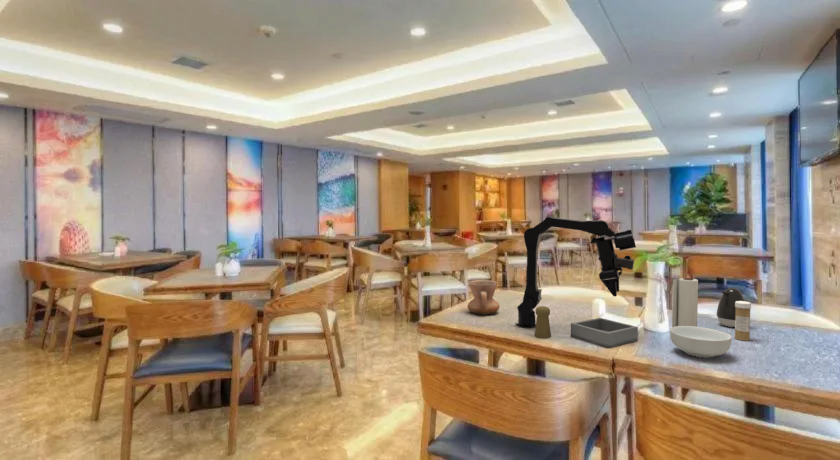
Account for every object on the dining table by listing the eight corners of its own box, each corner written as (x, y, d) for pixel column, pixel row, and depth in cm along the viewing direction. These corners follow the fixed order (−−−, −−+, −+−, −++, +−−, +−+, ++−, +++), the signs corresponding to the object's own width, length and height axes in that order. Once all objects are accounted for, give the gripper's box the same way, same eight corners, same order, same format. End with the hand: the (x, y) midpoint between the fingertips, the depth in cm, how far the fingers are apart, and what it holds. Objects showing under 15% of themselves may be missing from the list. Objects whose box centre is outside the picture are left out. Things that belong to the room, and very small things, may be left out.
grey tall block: (699, 337, 162) (700, 278, 161) (694, 340, 157) (695, 280, 156) (677, 333, 167) (678, 276, 166) (671, 336, 162) (672, 278, 161)
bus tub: (570, 336, 164) (570, 323, 164) (599, 330, 172) (599, 317, 172) (607, 348, 150) (608, 333, 150) (637, 340, 158) (637, 326, 158)
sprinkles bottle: (739, 336, 161) (739, 300, 161) (752, 340, 157) (753, 302, 157) (731, 338, 159) (732, 301, 159) (745, 341, 155) (746, 303, 155)
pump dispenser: (709, 324, 179) (710, 286, 178) (728, 321, 182) (729, 285, 182) (734, 330, 169) (735, 291, 169) (754, 328, 173) (755, 289, 172)
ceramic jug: (468, 308, 213) (467, 278, 212) (499, 308, 211) (498, 278, 210) (466, 318, 195) (465, 286, 194) (500, 318, 193) (499, 286, 192)
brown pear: (551, 338, 162) (552, 308, 161) (534, 338, 163) (534, 308, 162) (550, 334, 168) (550, 305, 167) (533, 333, 169) (534, 304, 168)
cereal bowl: (707, 366, 132) (708, 342, 132) (658, 350, 148) (658, 329, 147) (743, 358, 139) (744, 335, 139) (692, 343, 154) (692, 323, 154)
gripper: (627, 251, 154) (638, 295, 153) (631, 246, 170) (641, 286, 170) (594, 257, 160) (604, 300, 159) (601, 251, 176) (610, 290, 175)
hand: (616, 293), depth 166 cm, fingers open, 9 cm apart
